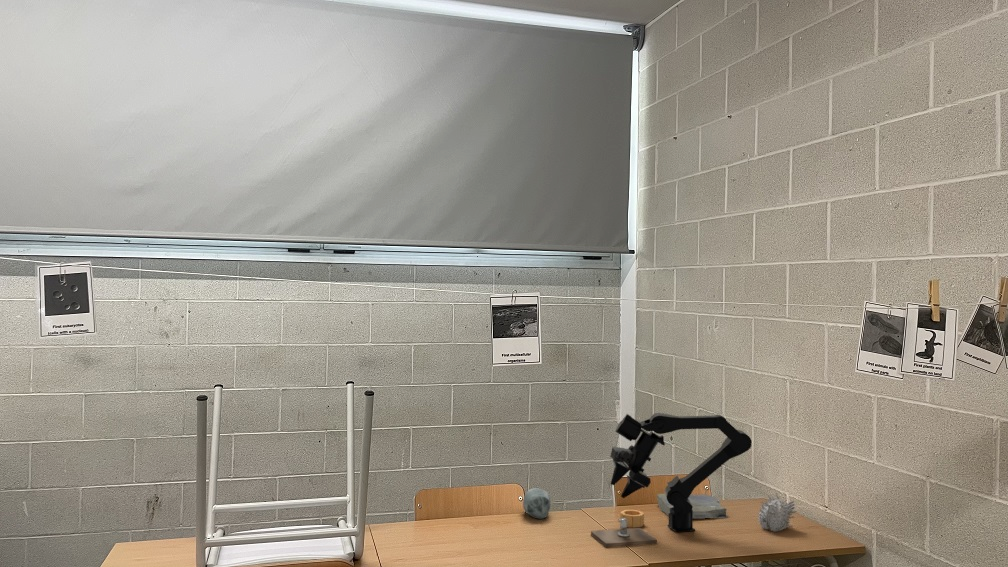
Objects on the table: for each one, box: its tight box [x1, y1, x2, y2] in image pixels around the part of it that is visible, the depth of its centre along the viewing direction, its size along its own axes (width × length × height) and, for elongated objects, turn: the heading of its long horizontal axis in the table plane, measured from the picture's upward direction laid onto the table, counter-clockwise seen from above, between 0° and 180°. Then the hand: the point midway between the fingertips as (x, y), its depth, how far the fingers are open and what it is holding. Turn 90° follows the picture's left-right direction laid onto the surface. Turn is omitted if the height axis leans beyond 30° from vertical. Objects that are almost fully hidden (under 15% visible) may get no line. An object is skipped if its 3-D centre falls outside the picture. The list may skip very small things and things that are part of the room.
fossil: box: [656, 493, 728, 520], centre depth 253 cm, size 22×5×19 cm
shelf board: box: [590, 527, 658, 549], centre depth 221 cm, size 16×12×1 cm
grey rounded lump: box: [522, 487, 551, 520], centre depth 246 cm, size 14×10×10 cm
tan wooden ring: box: [619, 509, 645, 528], centre depth 237 cm, size 7×7×4 cm
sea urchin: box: [756, 492, 798, 533], centre depth 234 cm, size 12×11×12 cm
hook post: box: [617, 518, 630, 537], centre depth 221 cm, size 4×4×5 cm
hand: (616, 490), depth 235 cm, fingers open, 9 cm apart
